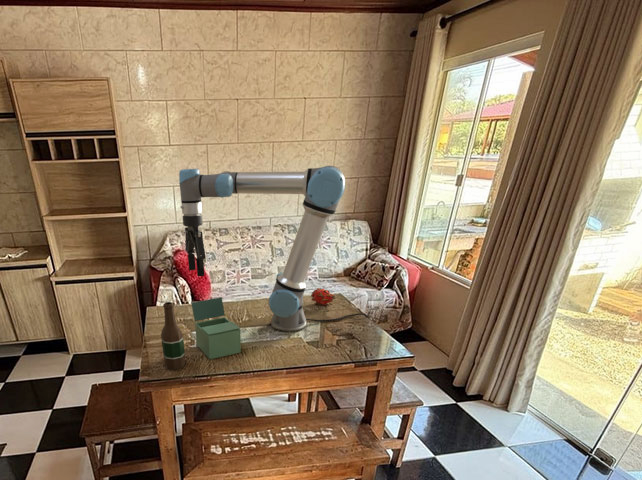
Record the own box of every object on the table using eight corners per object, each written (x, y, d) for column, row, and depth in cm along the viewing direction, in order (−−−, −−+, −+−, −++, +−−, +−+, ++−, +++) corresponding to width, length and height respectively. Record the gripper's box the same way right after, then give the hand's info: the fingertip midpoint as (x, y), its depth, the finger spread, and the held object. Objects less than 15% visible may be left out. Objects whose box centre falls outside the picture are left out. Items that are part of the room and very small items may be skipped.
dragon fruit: (308, 305, 206) (332, 310, 203) (307, 300, 198) (332, 305, 194) (313, 289, 206) (337, 294, 203) (312, 283, 198) (337, 289, 195)
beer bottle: (190, 364, 151) (184, 302, 139) (174, 372, 146) (166, 308, 134) (176, 358, 155) (169, 298, 144) (160, 365, 150) (152, 303, 139)
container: (196, 344, 166) (194, 320, 161) (225, 338, 170) (224, 315, 165) (209, 359, 154) (208, 334, 149) (240, 352, 158) (240, 327, 153)
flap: (194, 321, 161) (194, 321, 161) (224, 315, 165) (224, 315, 165) (191, 302, 159) (191, 302, 160) (221, 297, 163) (221, 297, 164)
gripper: (174, 212, 162) (179, 268, 173) (192, 219, 144) (197, 281, 155) (192, 210, 164) (196, 265, 175) (212, 217, 146) (215, 278, 157)
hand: (196, 272), depth 165 cm, fingers open, 10 cm apart
